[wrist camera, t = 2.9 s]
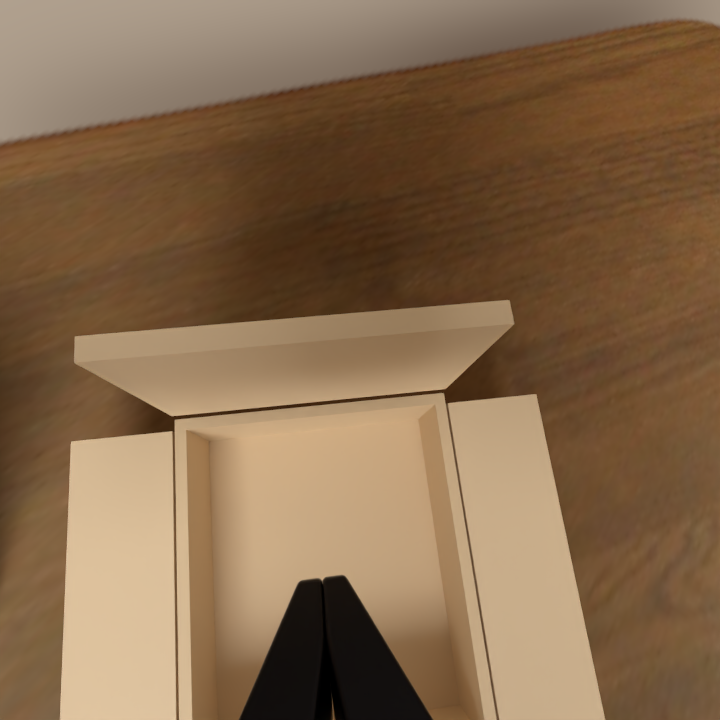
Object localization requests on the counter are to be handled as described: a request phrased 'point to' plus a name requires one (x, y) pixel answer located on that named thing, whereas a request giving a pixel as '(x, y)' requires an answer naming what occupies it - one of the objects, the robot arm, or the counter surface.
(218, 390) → the far flap
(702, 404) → the counter surface
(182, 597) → the carton
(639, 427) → the counter surface
